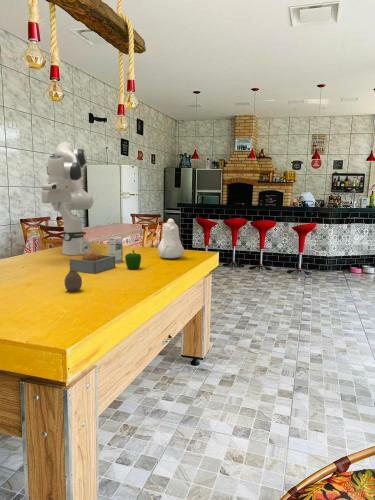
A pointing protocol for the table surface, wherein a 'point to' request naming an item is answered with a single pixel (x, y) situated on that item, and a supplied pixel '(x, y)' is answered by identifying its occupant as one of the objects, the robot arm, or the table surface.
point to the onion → (91, 255)
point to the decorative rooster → (170, 241)
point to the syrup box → (115, 248)
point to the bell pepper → (133, 260)
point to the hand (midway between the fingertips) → (57, 210)
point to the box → (93, 264)
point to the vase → (73, 281)
